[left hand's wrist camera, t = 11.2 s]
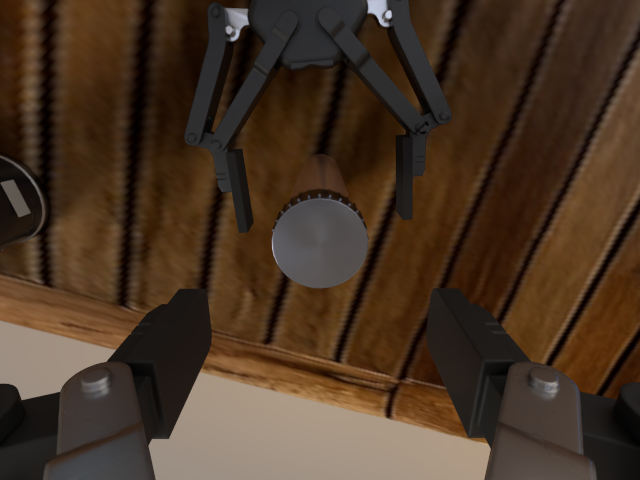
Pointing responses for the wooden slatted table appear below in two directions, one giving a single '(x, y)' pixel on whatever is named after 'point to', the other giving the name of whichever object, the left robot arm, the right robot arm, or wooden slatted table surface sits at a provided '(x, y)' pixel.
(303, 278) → the lid
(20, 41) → the wooden slatted table surface
